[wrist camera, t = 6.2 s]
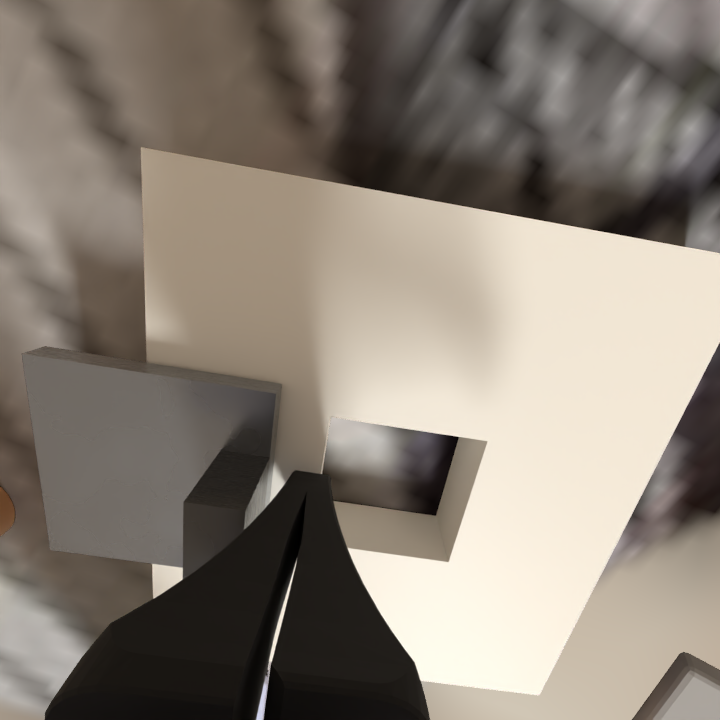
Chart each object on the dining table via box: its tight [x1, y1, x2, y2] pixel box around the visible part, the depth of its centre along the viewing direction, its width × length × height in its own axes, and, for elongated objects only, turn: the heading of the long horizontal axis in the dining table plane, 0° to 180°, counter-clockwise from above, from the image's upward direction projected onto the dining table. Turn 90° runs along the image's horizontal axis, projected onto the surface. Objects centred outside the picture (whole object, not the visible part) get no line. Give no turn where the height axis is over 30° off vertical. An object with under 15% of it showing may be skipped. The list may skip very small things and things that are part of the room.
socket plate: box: [141, 147, 720, 695], centre depth 14 cm, size 20×18×2 cm
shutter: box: [22, 346, 282, 579], centre depth 11 cm, size 8×8×3 cm
